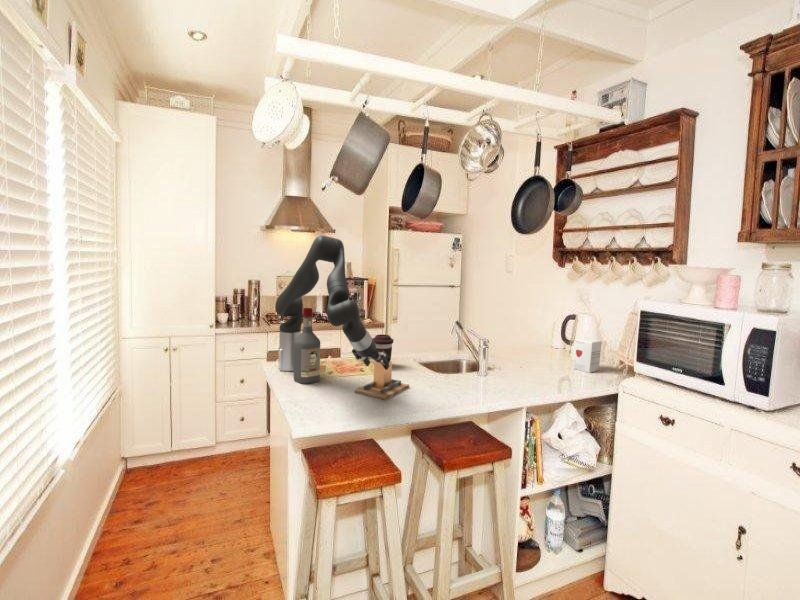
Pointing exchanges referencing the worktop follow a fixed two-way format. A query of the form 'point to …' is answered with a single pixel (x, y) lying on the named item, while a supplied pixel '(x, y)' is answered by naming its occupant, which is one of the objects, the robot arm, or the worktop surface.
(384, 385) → the block
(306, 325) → the liquor
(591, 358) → the supplement box
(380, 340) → the coffee cup
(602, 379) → the worktop surface
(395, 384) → the board
